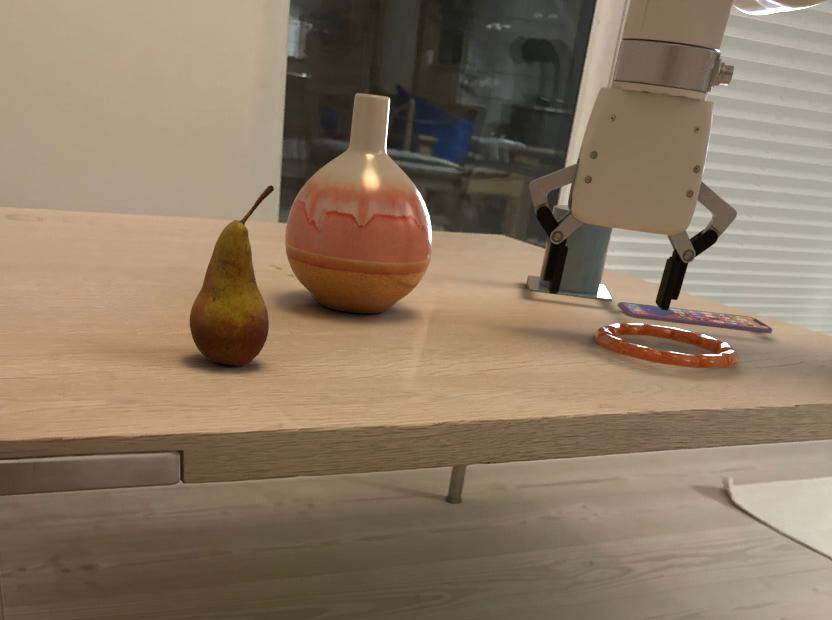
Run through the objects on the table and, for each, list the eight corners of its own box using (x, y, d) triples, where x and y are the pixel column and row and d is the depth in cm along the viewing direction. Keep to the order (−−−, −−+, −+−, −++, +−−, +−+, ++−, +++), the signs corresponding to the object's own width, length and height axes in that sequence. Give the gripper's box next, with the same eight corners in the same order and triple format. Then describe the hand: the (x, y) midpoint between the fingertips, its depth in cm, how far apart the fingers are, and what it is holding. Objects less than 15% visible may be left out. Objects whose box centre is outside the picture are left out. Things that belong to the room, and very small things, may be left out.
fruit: (219, 347, 71) (223, 174, 65) (281, 364, 69) (291, 186, 63) (172, 360, 67) (171, 176, 61) (235, 378, 64) (242, 189, 58)
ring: (717, 349, 88) (722, 332, 88) (747, 384, 78) (753, 365, 77) (587, 332, 89) (591, 315, 88) (600, 364, 79) (604, 345, 78)
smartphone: (613, 309, 101) (750, 325, 100) (627, 322, 94) (773, 339, 94) (615, 301, 100) (753, 316, 100) (629, 313, 94) (776, 330, 94)
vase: (261, 308, 84) (271, 84, 75) (306, 284, 96) (320, 87, 86) (406, 332, 82) (434, 103, 73) (435, 305, 93) (463, 104, 84)
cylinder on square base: (602, 293, 109) (621, 210, 104) (610, 308, 101) (631, 219, 96) (526, 283, 109) (541, 200, 105) (528, 298, 102) (545, 209, 97)
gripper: (761, 89, 75) (696, 305, 84) (551, 61, 76) (509, 278, 85) (786, 88, 69) (713, 322, 78) (556, 58, 70) (510, 292, 79)
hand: (606, 299), depth 82 cm, fingers open, 9 cm apart
